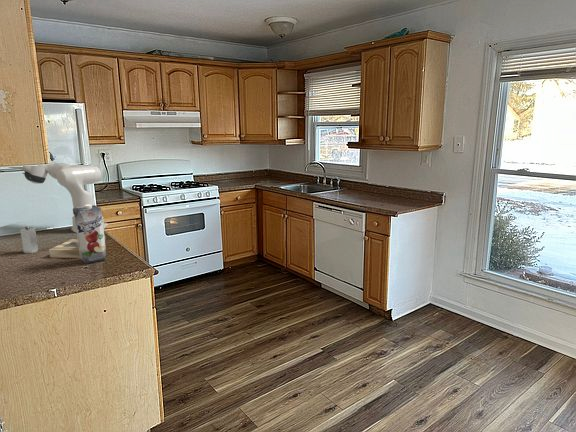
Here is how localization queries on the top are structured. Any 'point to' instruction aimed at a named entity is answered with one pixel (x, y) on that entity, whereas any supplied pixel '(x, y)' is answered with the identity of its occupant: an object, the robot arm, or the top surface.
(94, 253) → the juice carton
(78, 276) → the top surface
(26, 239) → the square capped bottle
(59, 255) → the birch stand
